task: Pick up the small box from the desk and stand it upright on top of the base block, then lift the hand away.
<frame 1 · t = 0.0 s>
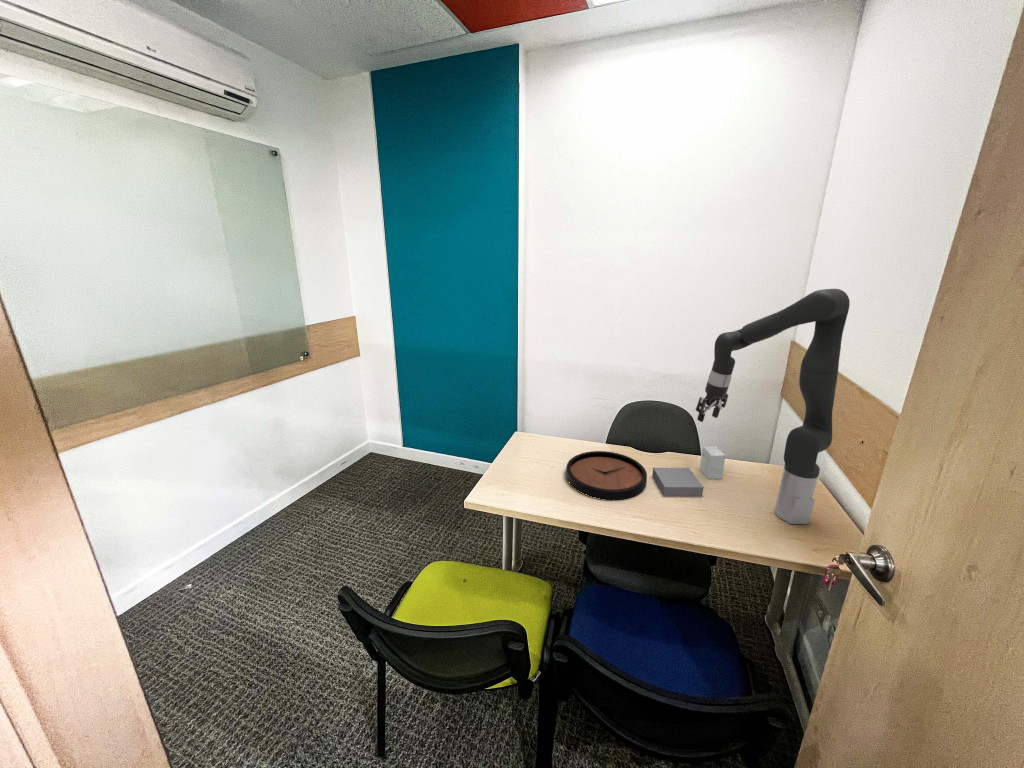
hand: (707, 418, 159), 22 cm above the table, tool pointing down, fingers open, 8 cm apart
small box: (710, 474, 161), on the table
wall clock: (605, 478, 160), on the table
base block: (676, 486, 153), on the table
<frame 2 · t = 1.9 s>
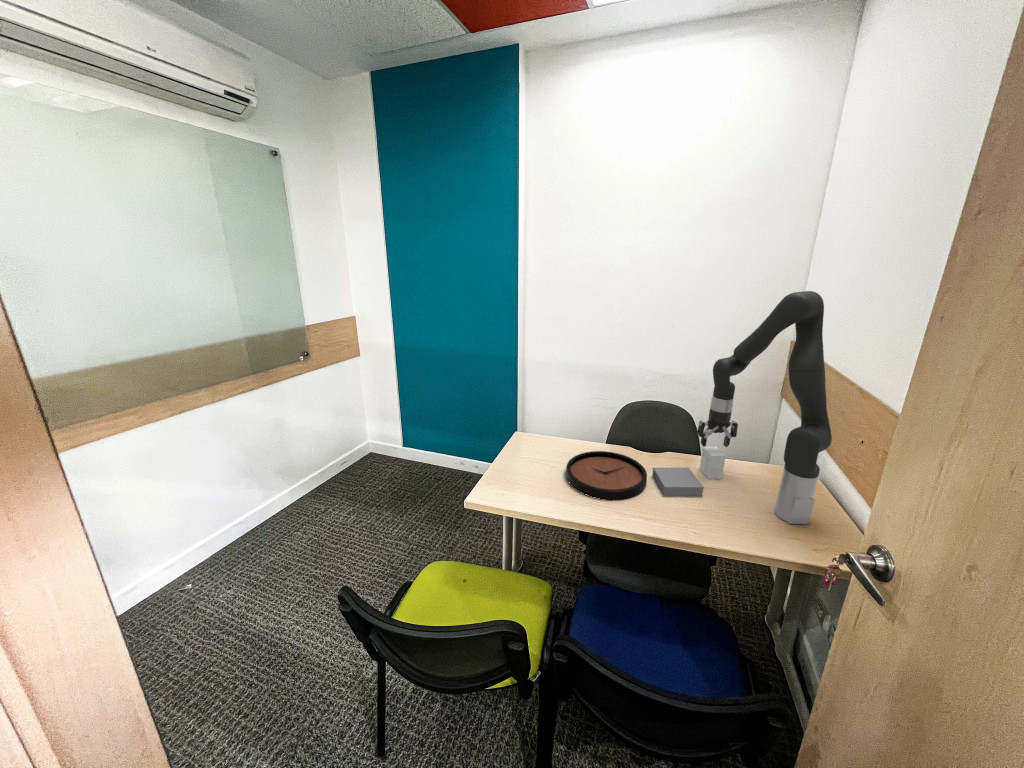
hand: (714, 445, 158), 13 cm above the table, tool pointing down, fingers open, 8 cm apart
nothing on the table moved.
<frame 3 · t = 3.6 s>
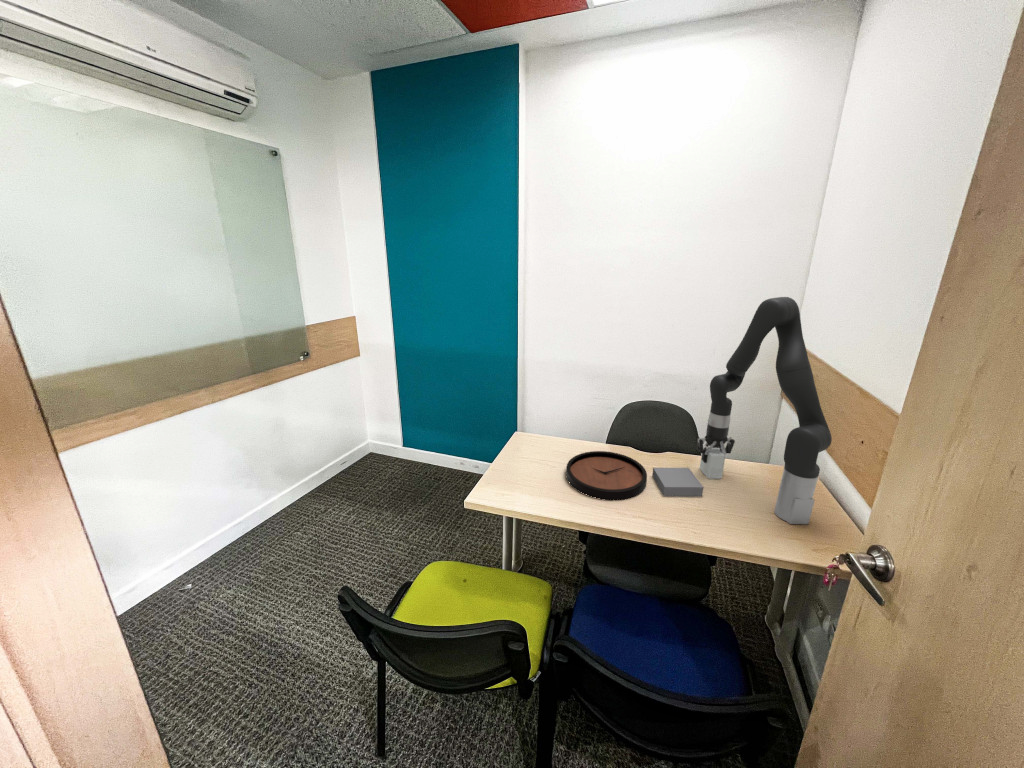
hand: (712, 461, 160), 6 cm above the table, tool pointing down, fingers closed on small box, 5 cm apart
small box: (710, 474, 161), on the table, touching gripper
everything else where it was.
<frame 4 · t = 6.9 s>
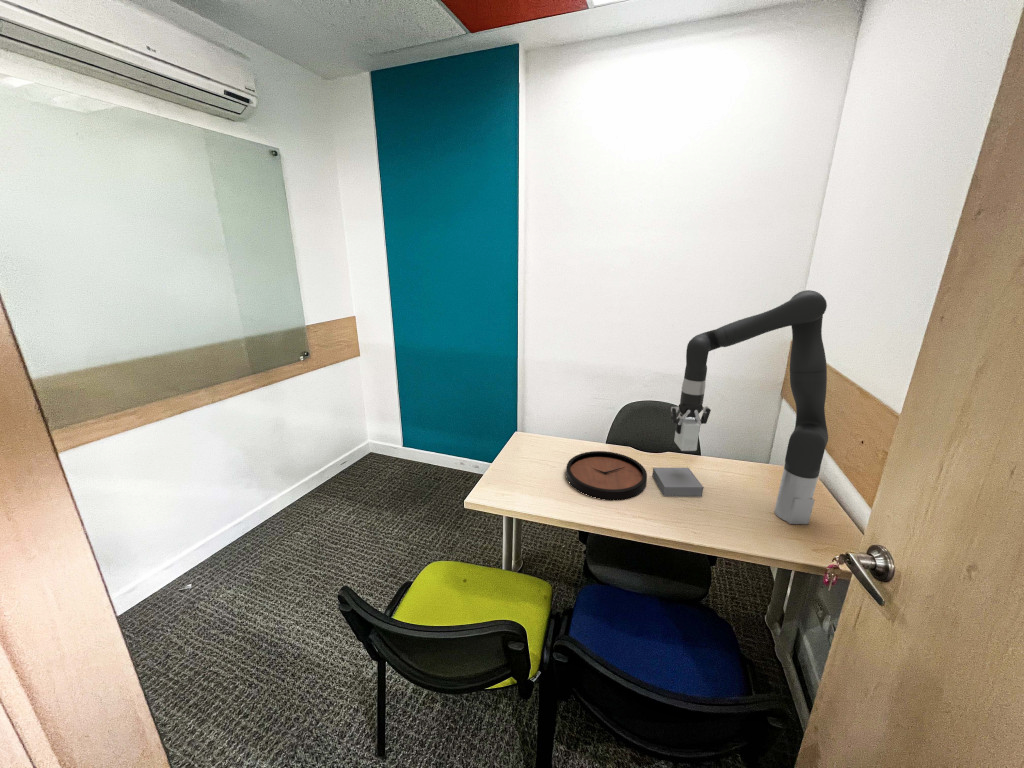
hand: (686, 433, 148), 22 cm above the table, tool pointing down, fingers closed on small box, 5 cm apart
small box: (684, 446, 150), point 16 cm above the table, touching gripper
everything else where it was.
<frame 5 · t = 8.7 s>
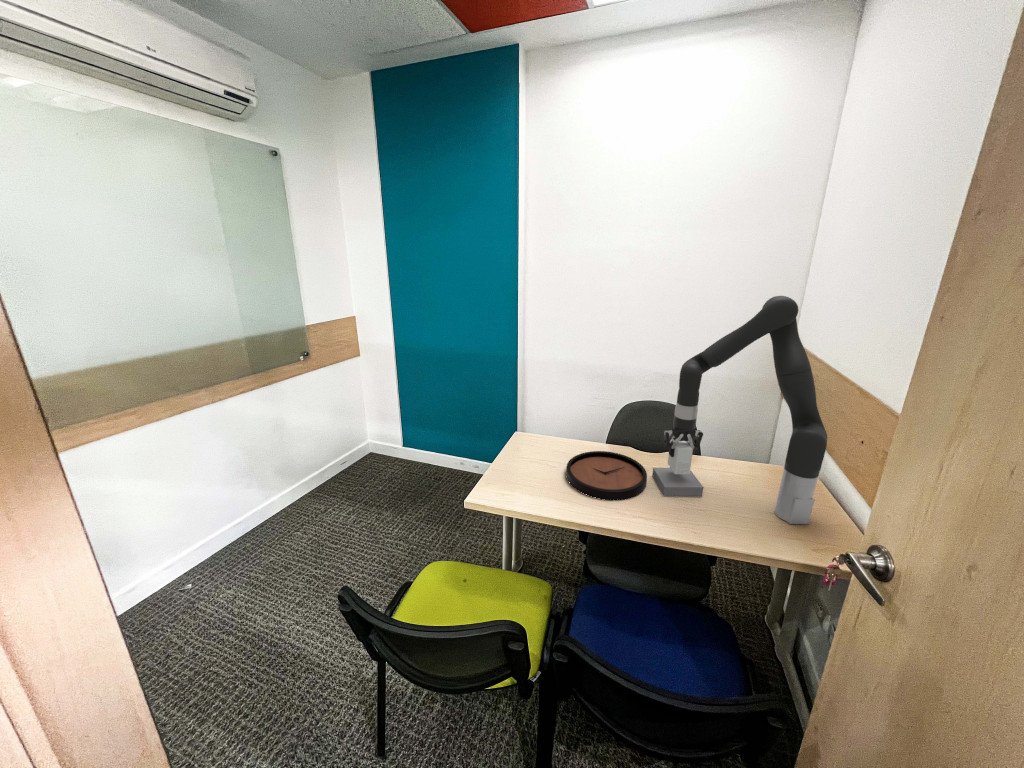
hand: (680, 456, 149), 13 cm above the table, tool pointing down, fingers closed on small box, 5 cm apart
small box: (678, 469, 151), point 7 cm above the table, touching gripper
everything else where it was.
when the fingers open (11 cm above the table, at t = 10.0 s): small box drops 1 cm, resting on base block.
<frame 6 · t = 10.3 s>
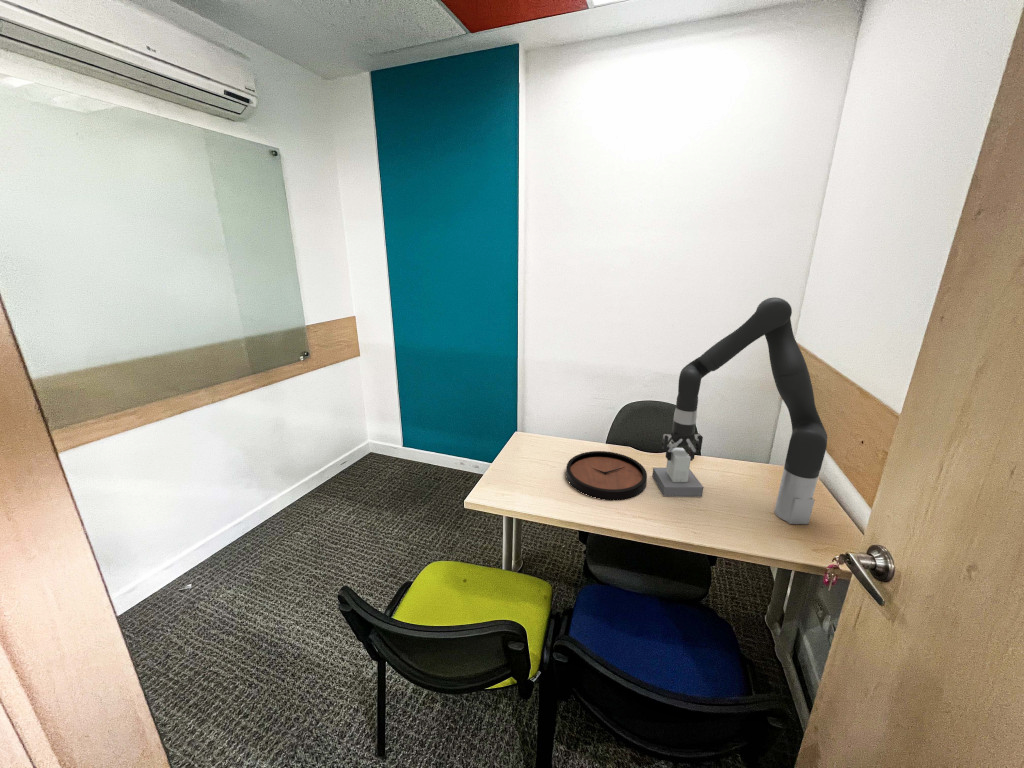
hand: (679, 459, 150), 11 cm above the table, tool pointing down, fingers open, 7 cm apart
small box: (676, 477, 152), point 4 cm above the table, touching base block
everything else where it was.
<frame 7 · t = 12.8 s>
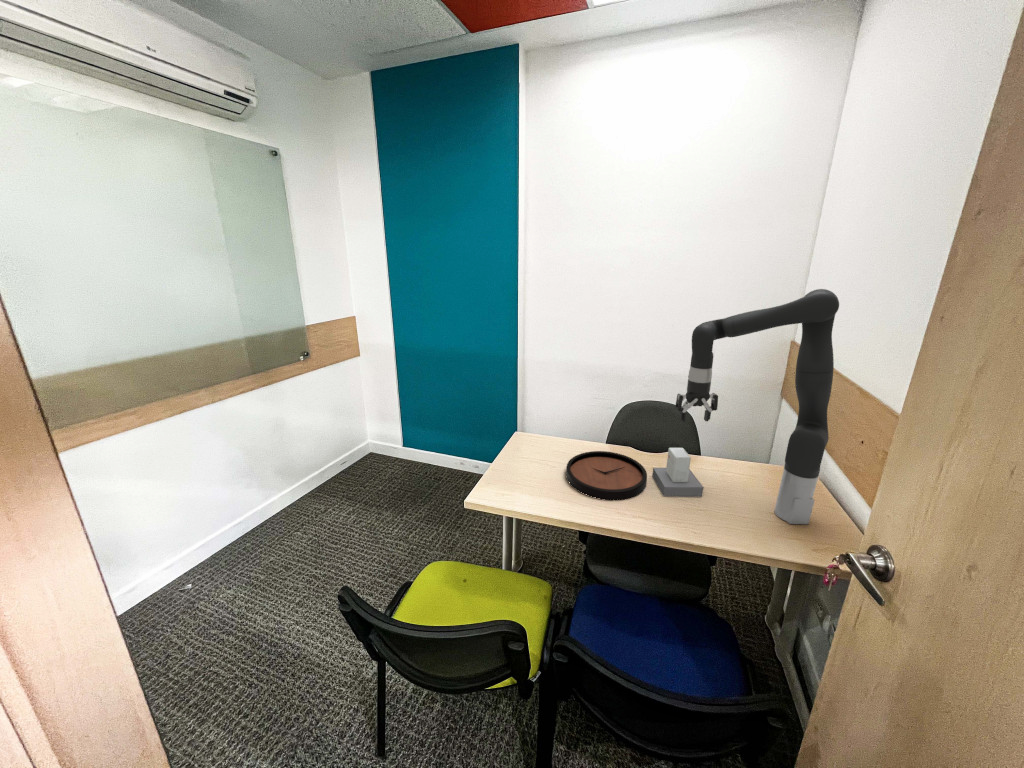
hand: (694, 420, 146), 27 cm above the table, tool pointing down, fingers open, 8 cm apart
nothing on the table moved.
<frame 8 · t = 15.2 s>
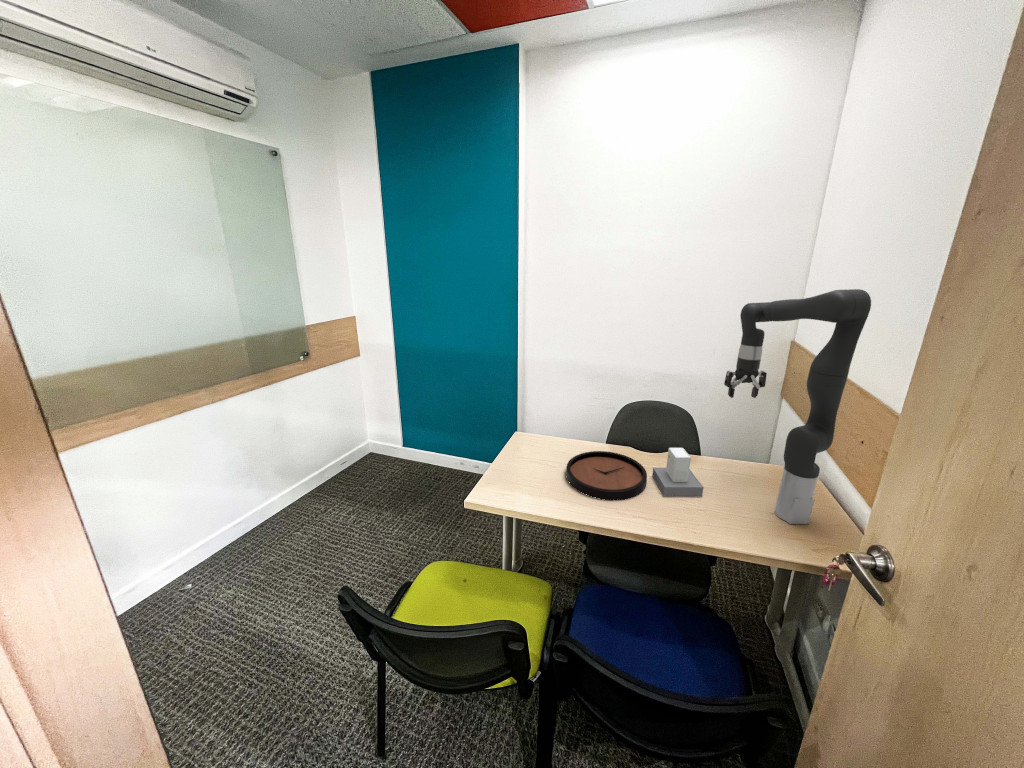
hand: (742, 397, 154), 32 cm above the table, tool pointing down, fingers open, 8 cm apart
nothing on the table moved.
at the end: small box inside the target area on the base block (0.3 cm from its centre), point 3.8 cm above the base block's base; small box tilted 0°; the gripper is holding nothing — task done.
